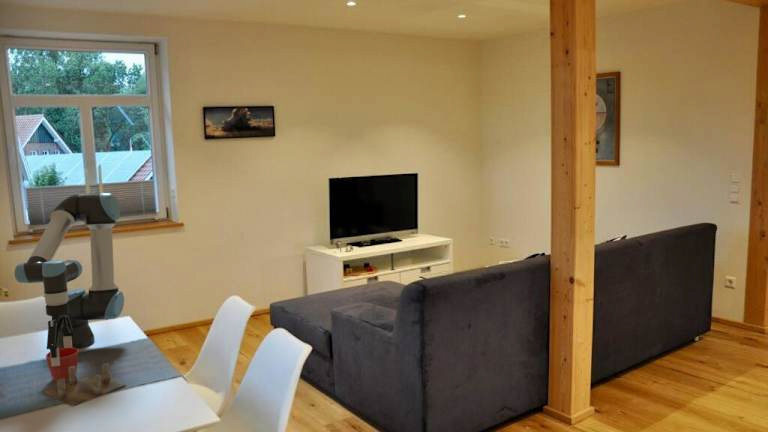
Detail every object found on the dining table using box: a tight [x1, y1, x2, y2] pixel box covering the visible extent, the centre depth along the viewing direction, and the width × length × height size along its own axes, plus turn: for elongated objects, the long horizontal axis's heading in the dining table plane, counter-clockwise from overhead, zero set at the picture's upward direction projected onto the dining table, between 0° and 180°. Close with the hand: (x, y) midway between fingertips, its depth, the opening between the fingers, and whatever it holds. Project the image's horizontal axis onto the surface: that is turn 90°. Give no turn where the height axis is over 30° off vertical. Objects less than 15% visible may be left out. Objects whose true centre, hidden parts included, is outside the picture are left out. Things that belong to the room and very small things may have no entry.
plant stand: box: [44, 363, 127, 407], centre depth 216 cm, size 19×19×7 cm
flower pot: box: [45, 348, 79, 382], centre depth 228 cm, size 11×11×10 cm
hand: (62, 359), depth 228 cm, fingers open, 13 cm apart
